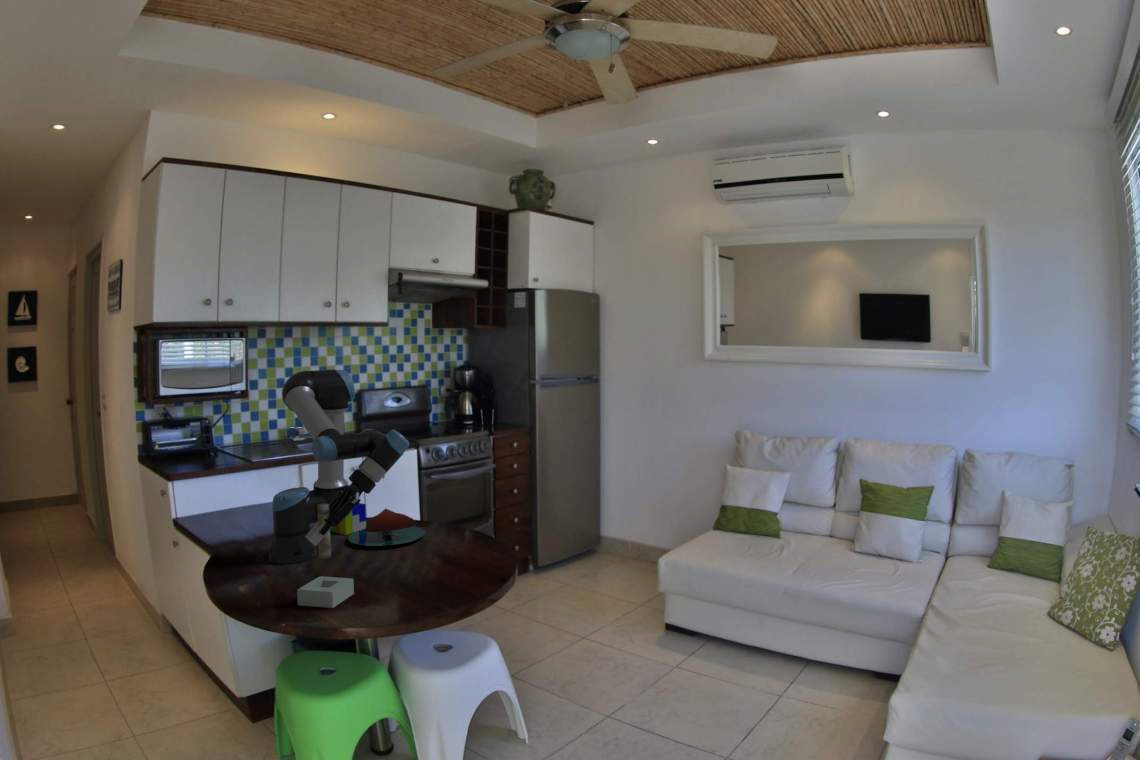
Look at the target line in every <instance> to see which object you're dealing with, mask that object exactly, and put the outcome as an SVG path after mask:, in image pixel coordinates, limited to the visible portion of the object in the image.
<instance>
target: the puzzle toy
mask: <svg viewBox="0 0 1140 760" xmlns="http://www.w3.org/2000/svg"><path fill="white" fill-rule="evenodd" d="M366 505H367V504H366V503H361V502H359V503H358V504H357V505H356V506H355V507H354V508H353V509H352V512H351V513H350V514H349V516H347V517H345V518H344V519H343V520H342V521H341V522H340V523H339V524H338V526H334V527H332V528H331V529H330V531H332V532H331V533H335V532H336V533H335V534H341V535H345V536H347V535H351V534H353V532H354V533H355V532H356V531H359V530H362V529H365V528H366V526H367V511H366V509H367V508H366V507H367V506H366Z"/></svg>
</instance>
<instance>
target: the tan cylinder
mask: <svg viewBox="0 0 1140 760" xmlns="http://www.w3.org/2000/svg"><path fill="white" fill-rule="evenodd" d="M317 514H318V528H319V527H320V525H321V524H322V523H323V522H324V519H328V518H329V517H330V508H329V504H319V505H317ZM326 523H327V522H326ZM331 542H332V541H331V532H330V530H329V531H328V532H327V534H326V535H325V536H324V537H323V538H322V539H321V541H320V542H319V543H318V557H319V559H327V558H331V556H332V546H331Z"/></svg>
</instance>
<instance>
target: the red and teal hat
mask: <svg viewBox="0 0 1140 760" xmlns="http://www.w3.org/2000/svg"><path fill="white" fill-rule="evenodd" d="M425 535H426V531H425V530H424V529H423V528H421V527H418V526H416V524H415V521H414V518H412V517H410V516H408V515H405V514H403V513H399V512H395V511H393V510H390V509H389V508H386V507H385V508H384V509H383V510H382V511H381V512H380V513H377V514H376V515H375V516H372V517H370V518H369V520H368V522H367V523H366V528H365V529H363V530H360V531H357V532H354V533H350V534H349V535H348V541H349V542H350V543H352V544H354V545H359V546H366V547H367V546H368V547H377V546H378V547H383V546H393V545H400V544H401V545H402V544H408V543H412V542H414V541H417V540H419V539H421V538H423V537H424V536H425Z"/></svg>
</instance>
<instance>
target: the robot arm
mask: <svg viewBox="0 0 1140 760" xmlns="http://www.w3.org/2000/svg"><path fill="white" fill-rule="evenodd" d="M354 384H355V383H354V380H353V378H352V376H351V374H350V373H349V372H348V370H347V371H346V370H344V369H318V370H317V369H316V370H302V371H298V372H296V373H294V374H293V375H291V376H290V377H288V379H286V381H285V383H284V385H283V387H282V389H281V398H282V401H283V403H284V405H285V407H286V408H287V409H288V410H289V411H291V412H293V413H294V414H295V415H296V416H297V418H298V420H299V421H300V423H301V424H302V426H303V427H304V428H305V430H306V432H307V433H308V434H309V436H310V437H311V440H313V441H312V443H311V444H312V445H311V451H312V454H313V458H314V459H315V461H317V480H315V482H314V483H313V489H312V490H309V488H308V487H306V486H298V487H292V488H287V489H284V490H282V491H279V492H278V493H276V494H275V495H274V496H273V499H272V508H271V510H272V518H273V519H272V520H273V522H272V523H273V524H272V525H273V539H272V543H271V546H270V550H269V552H268V553H269V554H268V560H269V562H270V563H273V564H278V565H285V564H286V565H287V564H296V563H300V562H302V563H303V562H306V561H308V560H311V559H313V558H315V557H316V556H317V548H316V547H317V545H319V542H320V541H321V539H322V538H323V537H324V536H325V535H326V534H327V532H328V531H329V530H330V529H331V528H332V527H334V526H338V524H339V523H340V522H341V521H342V520H343V519H344V518H345V517H347V516H349V514H350V513H351V512H352V509H353V508H354V507H355V506H356V505H357V504H358V503H361V501H362V500H361V496H362V494H363V492H364V493H365V494H368V495H369V494H370V493H371V492H372V490H373V489H375V487H376V483H379V482H380V481H381V480H382V479H384V478H386V474H387V473H388V472H389V471H390V469H392V468H393V466H395V464H396V463H397V462H398V461H399V460H400V458H401V457H402V456H403V455H404V454H405V452H406V450H407V449H409V447H410V442H409V440H408V439H407V438H406V437H405V436H404V435H402V434H401V433H400V432H398V431H397V430H395V429H391V430H389V431H388V432H386V434H385V433H383V432H381V431H379V430H377V429H372V428H366V429H363V430H361V431H360V432H354V433H344V432H345V431H344V428H345V427H344V425H345V424H344V423H345V417H344V416H345V415H344V414H345V412H346V411H347V410H349V403H351V402H353V401H354V399H355V396H356V389H355V385H354ZM359 458H364V459H363V460H362V461H361V462H360V463H359V465H358V466H357V467H358V469H355V470H354V471H353V472H352V473H351V474H350V476H349V477H348V480H349V481H350V482H351V483H350V484H349V482H348V480H346V479H345V477H344V473H345V472H344V468H345V467H344V466H345V465H344V460H349V459H359ZM319 504H329V508H330V517H329V518H328V519H324V522H323V523H322V524H321V525H320V527H319V528H318V514H317V505H319ZM326 522H327V523H326ZM314 524H315V525H314ZM311 525H314V526H313V527H311Z"/></svg>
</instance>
